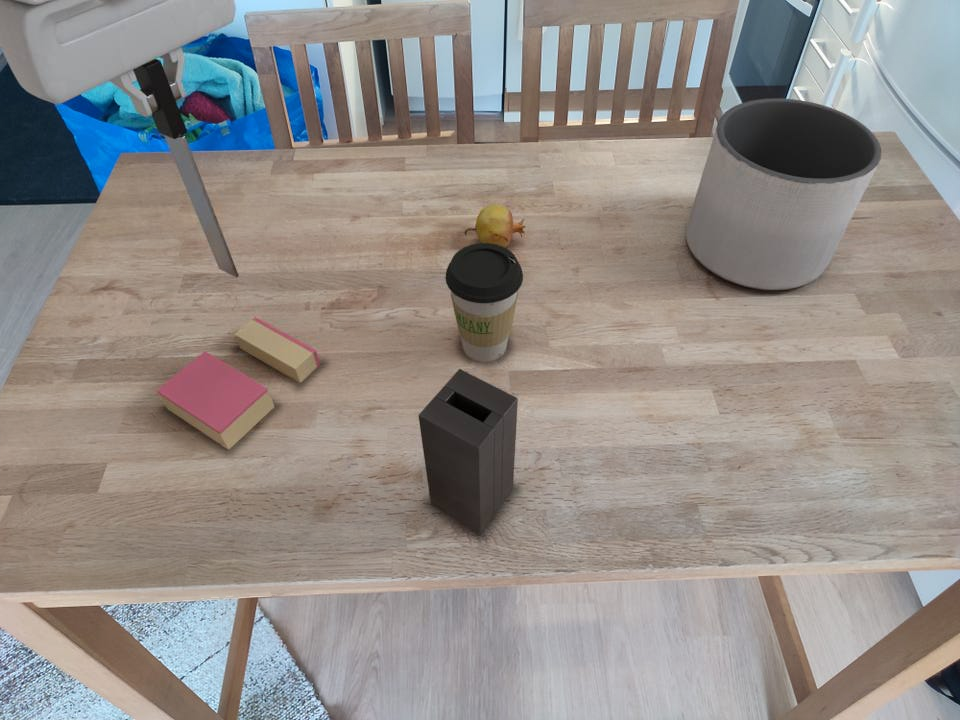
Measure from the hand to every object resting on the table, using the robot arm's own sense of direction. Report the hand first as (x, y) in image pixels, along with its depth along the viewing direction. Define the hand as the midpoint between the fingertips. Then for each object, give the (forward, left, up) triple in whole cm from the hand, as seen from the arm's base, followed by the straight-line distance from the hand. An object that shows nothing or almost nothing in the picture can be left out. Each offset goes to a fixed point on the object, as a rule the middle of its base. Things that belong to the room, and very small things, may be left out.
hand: (162, 105), depth 62 cm
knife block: (-1, -35, -38) cm, 52 cm away
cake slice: (+1, 0, -37) cm, 37 cm away
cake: (-8, 0, -38) cm, 39 cm away
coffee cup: (+20, -23, -38) cm, 49 cm away
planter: (+61, -48, -38) cm, 87 cm away
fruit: (+40, -12, -38) cm, 57 cm away
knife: (0, 0, -21) cm, 21 cm away
